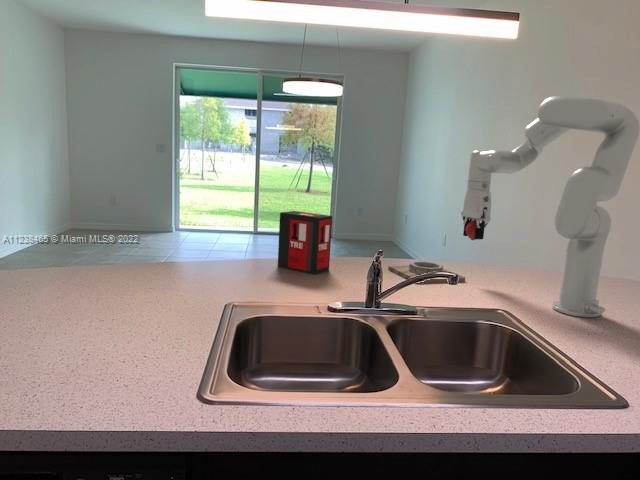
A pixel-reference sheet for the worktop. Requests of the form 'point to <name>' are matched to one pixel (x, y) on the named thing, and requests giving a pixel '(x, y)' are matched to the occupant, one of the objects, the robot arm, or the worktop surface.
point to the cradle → (420, 271)
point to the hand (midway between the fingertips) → (473, 237)
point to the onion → (471, 229)
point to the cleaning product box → (304, 242)
